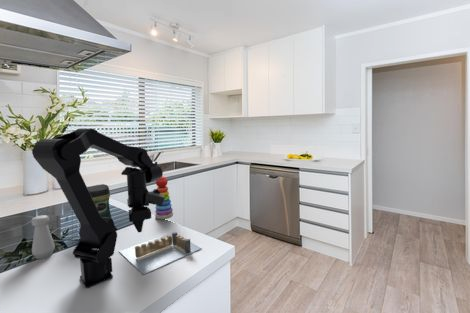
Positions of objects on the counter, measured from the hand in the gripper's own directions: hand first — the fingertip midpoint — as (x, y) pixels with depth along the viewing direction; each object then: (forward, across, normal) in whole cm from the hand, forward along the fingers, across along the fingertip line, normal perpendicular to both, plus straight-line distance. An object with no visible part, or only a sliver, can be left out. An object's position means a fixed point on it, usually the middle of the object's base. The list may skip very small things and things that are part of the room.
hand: (139, 231), depth 82 cm
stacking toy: (+6, +26, -12) cm, 29 cm away
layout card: (+6, -5, -6) cm, 9 cm away
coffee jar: (+6, +21, +14) cm, 26 cm away
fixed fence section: (+6, -7, -12) cm, 15 cm away
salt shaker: (+6, +8, +28) cm, 30 cm away
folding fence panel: (+5, -5, -4) cm, 8 cm away
